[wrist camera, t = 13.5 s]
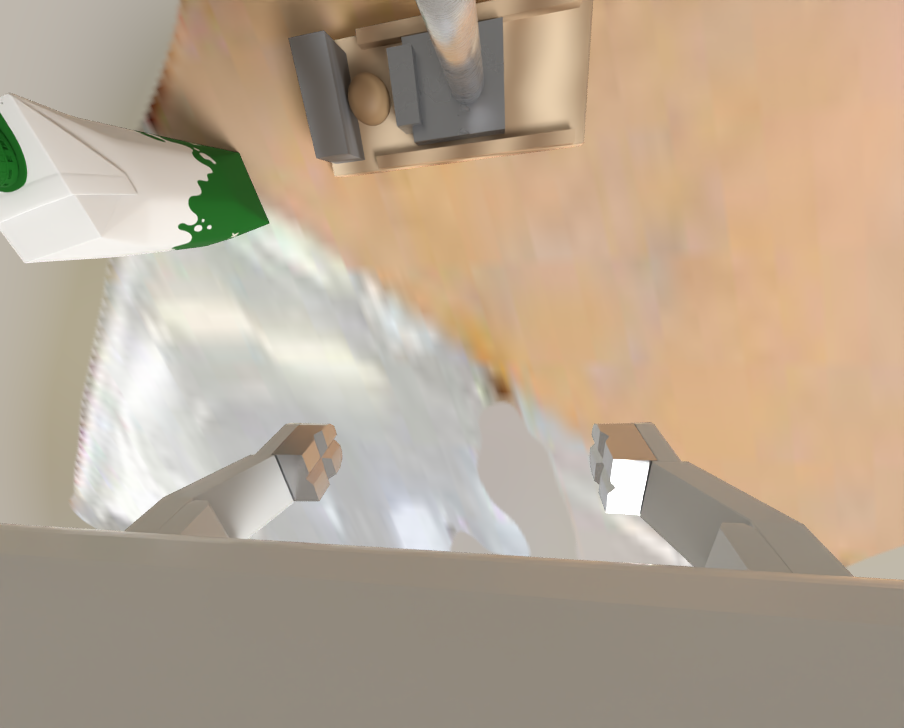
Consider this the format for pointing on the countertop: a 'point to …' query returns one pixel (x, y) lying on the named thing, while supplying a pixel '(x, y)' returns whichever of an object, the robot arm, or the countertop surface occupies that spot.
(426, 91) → the ball-top joystick lever
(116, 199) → the milk carton
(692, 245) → the countertop surface
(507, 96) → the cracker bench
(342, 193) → the countertop surface
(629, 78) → the countertop surface
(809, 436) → the countertop surface
